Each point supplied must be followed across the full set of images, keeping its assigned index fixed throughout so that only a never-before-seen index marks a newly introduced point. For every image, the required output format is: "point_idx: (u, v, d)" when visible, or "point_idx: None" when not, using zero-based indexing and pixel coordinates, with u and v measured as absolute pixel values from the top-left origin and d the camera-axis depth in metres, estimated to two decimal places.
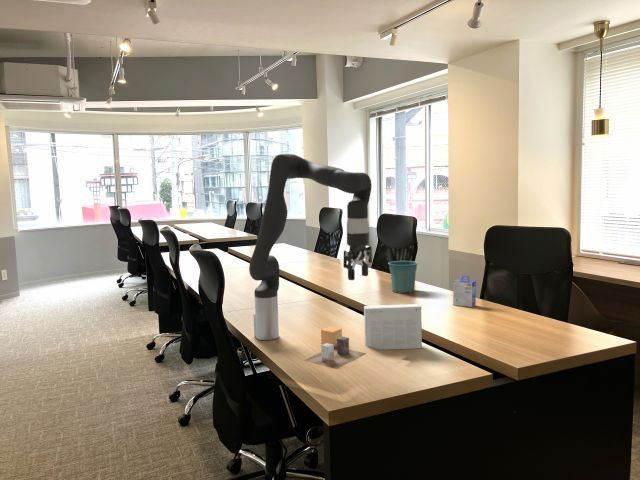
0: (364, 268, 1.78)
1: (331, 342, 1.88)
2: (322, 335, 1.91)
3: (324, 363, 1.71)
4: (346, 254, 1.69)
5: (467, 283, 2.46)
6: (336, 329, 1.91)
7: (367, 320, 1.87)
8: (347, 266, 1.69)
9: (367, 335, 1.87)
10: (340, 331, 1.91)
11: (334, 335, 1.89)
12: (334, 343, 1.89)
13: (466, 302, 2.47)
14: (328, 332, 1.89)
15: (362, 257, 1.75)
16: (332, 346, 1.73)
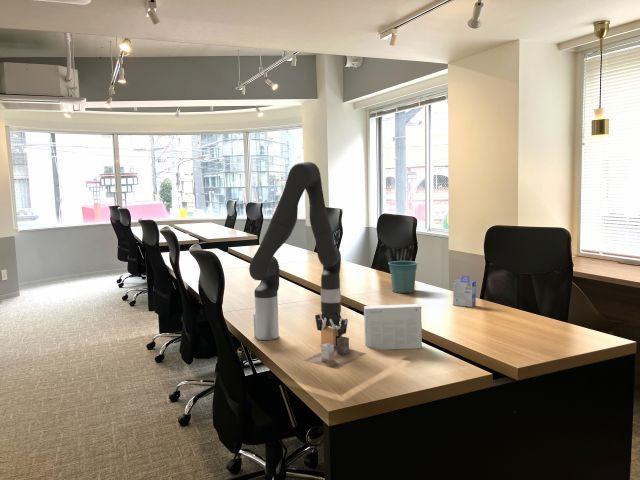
0: None
1: (331, 342, 1.88)
2: (322, 335, 1.91)
3: (324, 363, 1.71)
4: (345, 323, 1.87)
5: (467, 283, 2.46)
6: None
7: (367, 320, 1.87)
8: (344, 332, 1.88)
9: (367, 335, 1.87)
10: None
11: (334, 335, 1.89)
12: (334, 343, 1.89)
13: (466, 302, 2.47)
14: (328, 332, 1.89)
15: None
16: (332, 346, 1.73)
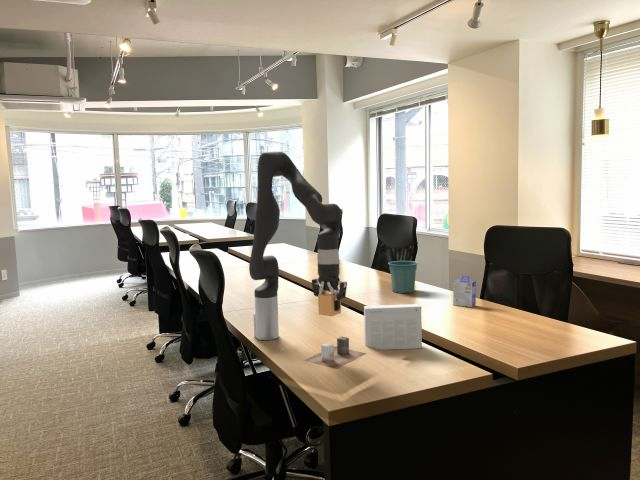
0: None
1: (329, 307, 1.73)
2: (320, 300, 1.76)
3: (324, 363, 1.71)
4: (344, 286, 1.72)
5: (467, 283, 2.46)
6: None
7: (367, 320, 1.87)
8: (343, 296, 1.73)
9: (367, 335, 1.87)
10: None
11: (333, 300, 1.74)
12: (332, 308, 1.74)
13: (466, 302, 2.47)
14: (326, 297, 1.74)
15: None
16: (332, 346, 1.73)
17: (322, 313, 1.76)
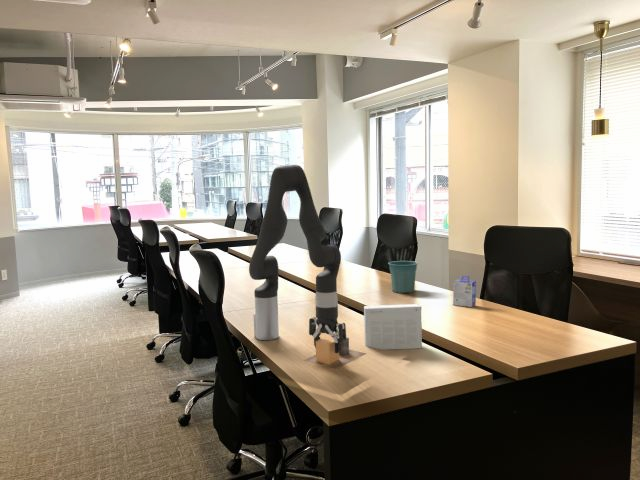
0: None
1: (327, 355, 1.70)
2: (317, 347, 1.72)
3: (324, 363, 1.71)
4: (343, 327, 1.68)
5: (467, 283, 2.46)
6: (332, 341, 1.73)
7: (367, 320, 1.87)
8: (344, 339, 1.69)
9: (367, 335, 1.87)
10: None
11: (331, 348, 1.70)
12: (330, 356, 1.70)
13: (466, 302, 2.47)
14: (323, 344, 1.71)
15: None
16: None
17: (319, 360, 1.72)
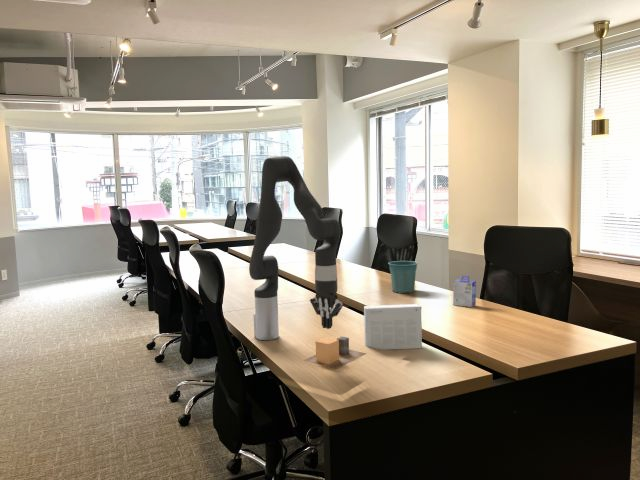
0: None
1: (327, 355, 1.70)
2: (317, 347, 1.72)
3: (324, 363, 1.71)
4: (340, 307, 1.68)
5: (467, 283, 2.46)
6: (332, 341, 1.73)
7: (367, 320, 1.87)
8: (335, 314, 1.70)
9: (367, 335, 1.87)
10: (337, 343, 1.73)
11: (331, 348, 1.70)
12: (330, 356, 1.70)
13: (466, 302, 2.47)
14: (323, 344, 1.71)
15: None
16: None
17: (319, 360, 1.72)
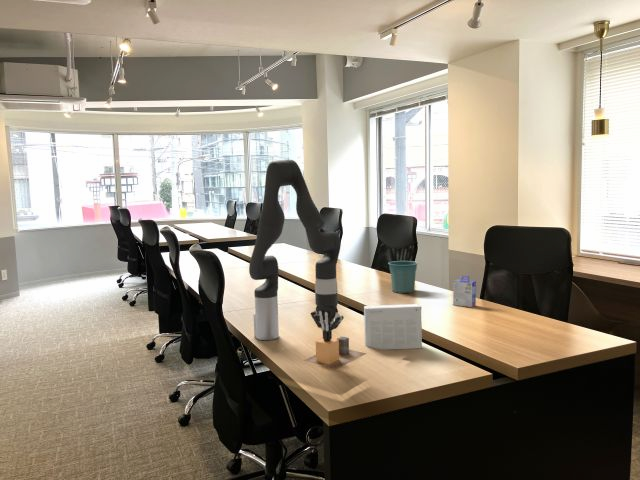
0: None
1: (327, 355, 1.70)
2: (317, 347, 1.72)
3: (324, 363, 1.71)
4: (340, 320, 1.69)
5: (467, 283, 2.46)
6: (332, 341, 1.73)
7: (367, 320, 1.87)
8: (335, 327, 1.71)
9: (367, 335, 1.87)
10: (337, 343, 1.73)
11: (331, 348, 1.70)
12: (330, 356, 1.70)
13: (466, 302, 2.47)
14: (323, 344, 1.71)
15: None
16: None
17: (319, 360, 1.72)
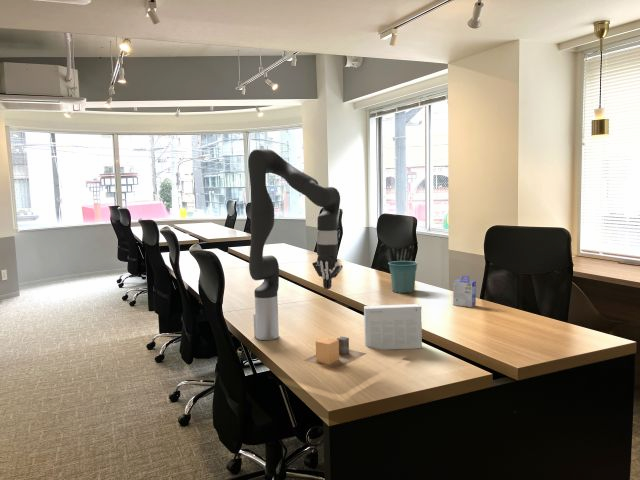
0: None
1: (327, 355, 1.70)
2: (317, 347, 1.72)
3: (324, 363, 1.71)
4: (339, 269, 1.82)
5: (467, 283, 2.46)
6: (332, 341, 1.73)
7: (367, 320, 1.87)
8: (334, 276, 1.85)
9: (367, 335, 1.87)
10: (337, 343, 1.73)
11: (331, 348, 1.70)
12: (330, 356, 1.70)
13: (466, 302, 2.47)
14: (323, 344, 1.71)
15: None
16: None
17: (319, 360, 1.72)
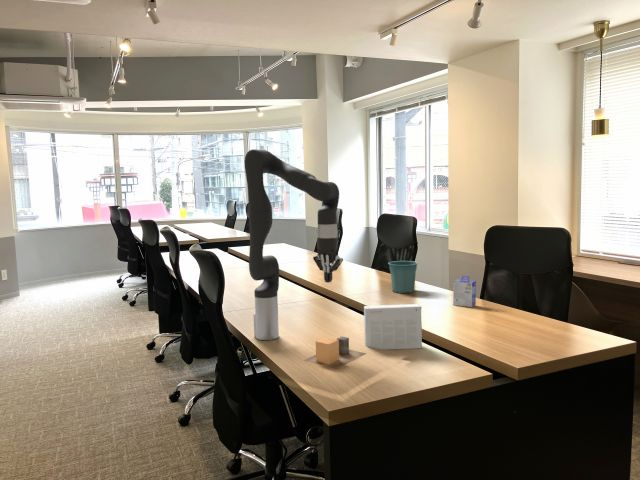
0: None
1: (327, 355, 1.70)
2: (317, 347, 1.72)
3: (324, 363, 1.71)
4: (339, 262, 1.86)
5: (467, 283, 2.46)
6: (332, 341, 1.73)
7: (367, 320, 1.87)
8: (335, 269, 1.88)
9: (367, 335, 1.87)
10: (337, 343, 1.73)
11: (331, 348, 1.70)
12: (330, 356, 1.70)
13: (466, 302, 2.47)
14: (323, 344, 1.71)
15: None
16: None
17: (319, 360, 1.72)
